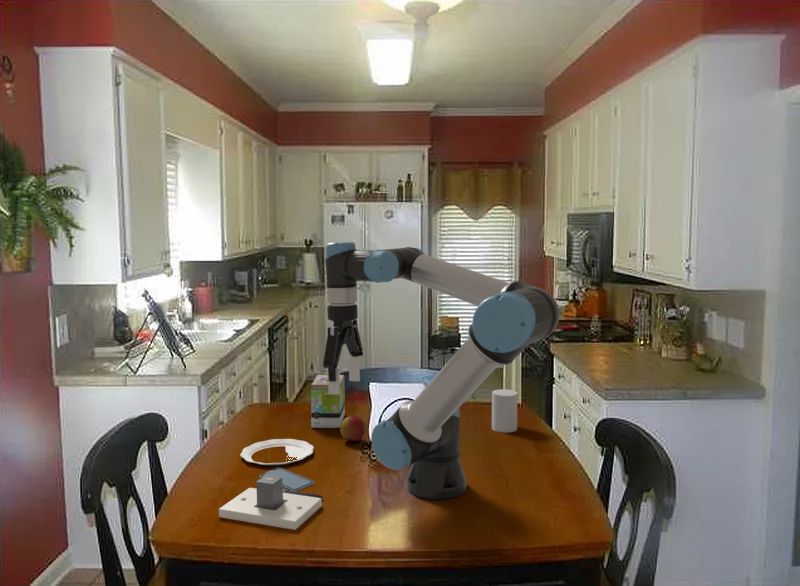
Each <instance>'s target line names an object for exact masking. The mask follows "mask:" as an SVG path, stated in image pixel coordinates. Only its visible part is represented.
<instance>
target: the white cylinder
mask: <svg viewBox="0 0 800 586" xmlns="http://www.w3.org/2000/svg"><path fill="white" fill-rule="evenodd" d="M491 430H492V431H494V432H497V433H504V434H505V433H513V432H517V430H518V391H516V390H512V389H503V388H502V389H500V388H499V389H494V390H492V392H491Z"/></svg>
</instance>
